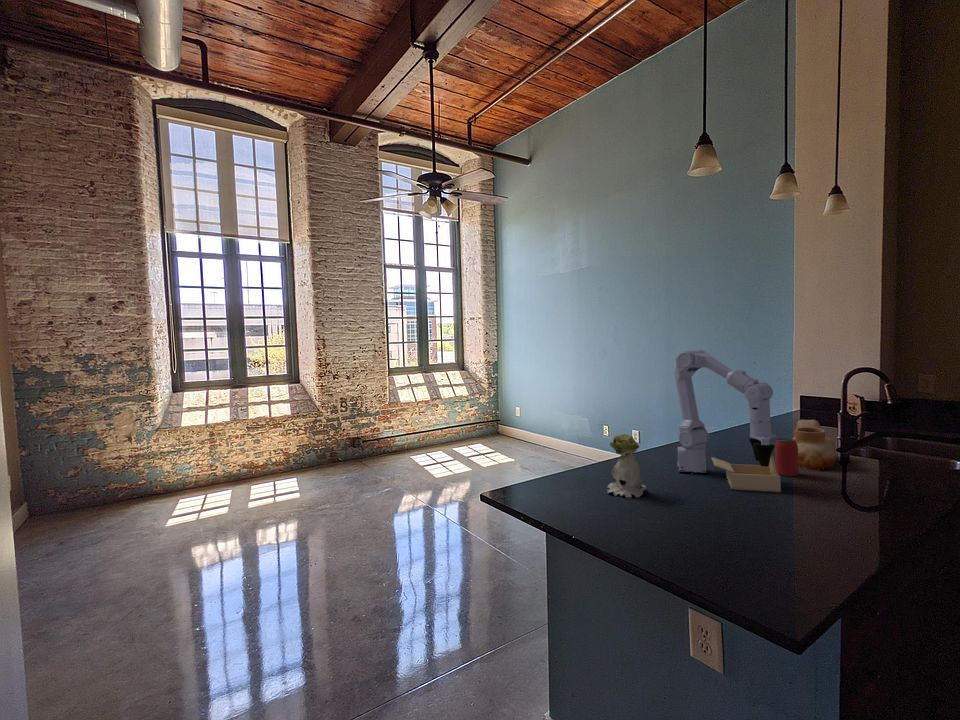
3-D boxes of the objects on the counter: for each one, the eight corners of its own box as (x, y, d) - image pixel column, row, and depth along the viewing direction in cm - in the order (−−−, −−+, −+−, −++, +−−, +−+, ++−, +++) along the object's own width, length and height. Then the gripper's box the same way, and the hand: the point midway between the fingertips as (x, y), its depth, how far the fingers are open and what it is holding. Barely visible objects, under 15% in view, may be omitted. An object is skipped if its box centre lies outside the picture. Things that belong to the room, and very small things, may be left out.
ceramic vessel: (831, 456, 180) (829, 418, 179) (840, 472, 157) (838, 429, 157) (788, 453, 187) (787, 417, 187) (791, 469, 165) (789, 427, 165)
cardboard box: (731, 489, 145) (731, 473, 145) (726, 478, 157) (726, 463, 157) (780, 492, 140) (780, 476, 140) (771, 480, 152) (771, 465, 152)
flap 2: (771, 456, 141) (773, 456, 141) (764, 448, 152) (765, 448, 151) (775, 474, 141) (776, 474, 141) (767, 465, 151) (769, 465, 151)
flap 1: (734, 471, 145) (733, 472, 145) (729, 463, 156) (729, 464, 156) (715, 464, 147) (714, 466, 147) (711, 456, 158) (711, 457, 158)
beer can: (803, 476, 155) (802, 441, 155) (783, 477, 155) (782, 441, 155) (790, 471, 161) (789, 437, 161) (771, 472, 162) (770, 438, 161)
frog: (644, 486, 152) (642, 431, 152) (646, 499, 140) (644, 438, 139) (607, 485, 156) (605, 431, 155) (606, 497, 143) (604, 438, 143)
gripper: (779, 424, 139) (782, 469, 139) (769, 417, 152) (771, 458, 152) (753, 424, 141) (755, 468, 141) (745, 417, 155) (747, 457, 155)
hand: (762, 463), depth 147 cm, fingers open, 7 cm apart
